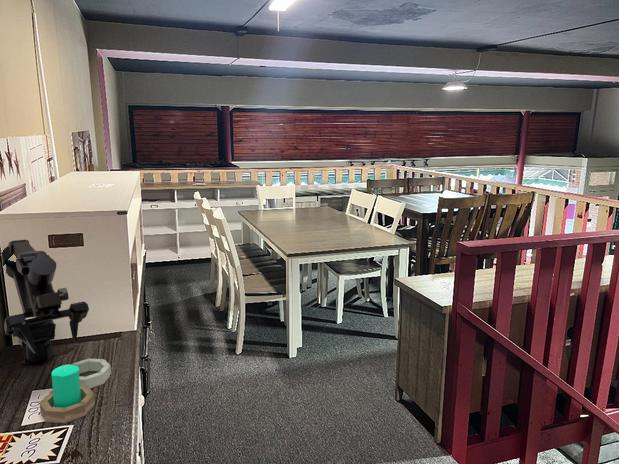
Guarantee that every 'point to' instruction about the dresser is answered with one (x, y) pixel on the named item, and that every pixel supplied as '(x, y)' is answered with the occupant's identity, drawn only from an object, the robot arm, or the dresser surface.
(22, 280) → the robot arm
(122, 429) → the dresser surface
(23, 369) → the dresser surface
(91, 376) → the socket
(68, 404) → the candle
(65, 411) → the socket
